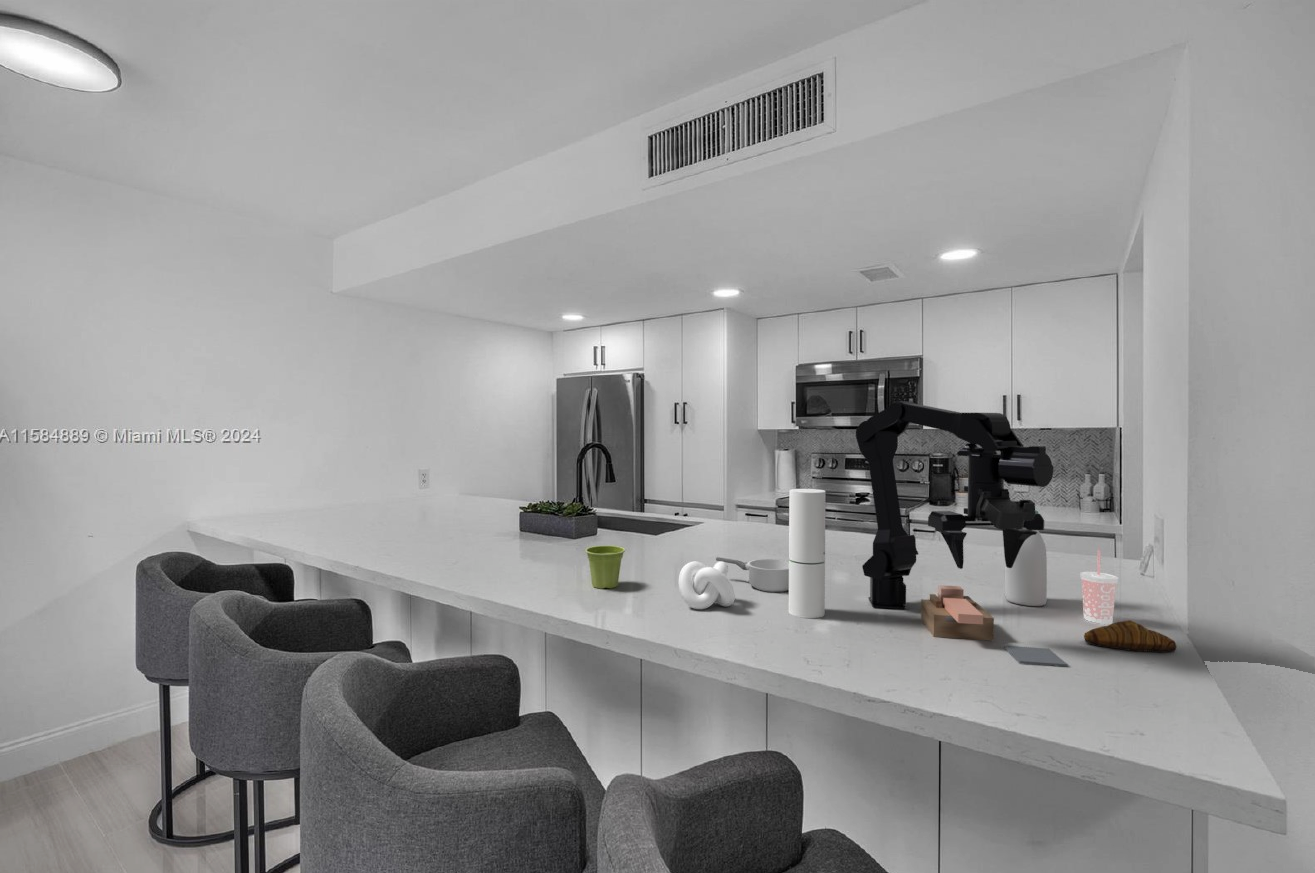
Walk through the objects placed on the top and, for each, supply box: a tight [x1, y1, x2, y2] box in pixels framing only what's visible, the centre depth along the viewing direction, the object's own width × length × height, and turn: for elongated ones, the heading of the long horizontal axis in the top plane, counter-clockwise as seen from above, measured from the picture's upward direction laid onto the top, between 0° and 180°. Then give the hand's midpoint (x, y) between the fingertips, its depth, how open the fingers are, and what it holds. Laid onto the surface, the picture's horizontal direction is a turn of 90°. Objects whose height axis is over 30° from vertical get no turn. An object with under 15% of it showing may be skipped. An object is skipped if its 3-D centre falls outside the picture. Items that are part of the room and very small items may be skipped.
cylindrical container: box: [788, 488, 826, 619], centre depth 125 cm, size 7×7×25 cm
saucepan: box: [715, 556, 789, 593], centre depth 147 cm, size 12×20×6 cm, turn 60°
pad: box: [1003, 645, 1069, 667], centre depth 102 cm, size 7×7×1 cm
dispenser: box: [920, 584, 995, 641], centre depth 115 cm, size 10×10×7 cm
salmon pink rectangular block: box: [943, 598, 983, 624], centre depth 111 cm, size 4×10×2 cm, turn 169°
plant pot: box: [585, 545, 626, 590], centre depth 146 cm, size 9×9×9 cm
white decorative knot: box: [678, 560, 736, 611], centre depth 130 cm, size 11×12×9 cm
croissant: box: [1083, 619, 1177, 653], centre depth 106 cm, size 14×7×5 cm, turn 75°
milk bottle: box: [1004, 509, 1048, 607], centre depth 133 cm, size 8×8×20 cm
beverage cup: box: [1079, 549, 1119, 626], centre depth 120 cm, size 6×6×14 cm
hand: (984, 567), depth 111 cm, fingers open, 9 cm apart
